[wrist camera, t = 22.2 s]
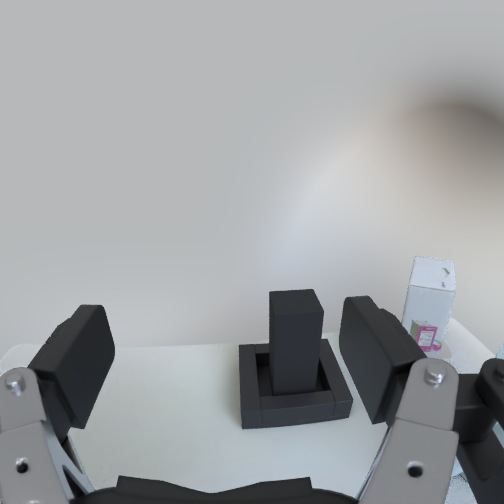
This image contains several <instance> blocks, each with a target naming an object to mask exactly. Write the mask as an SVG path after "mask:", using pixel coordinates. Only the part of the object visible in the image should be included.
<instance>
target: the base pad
mask: <svg viewBox="0 0 504 504" xmlns="http://www.w3.org/2000/svg"><path fill="white" fill-rule="evenodd" d="M239 370H240V400H241V419H242V429H252V428H268V427H281V426H291V425H301V424H309V423H317V422H324V421H331V420H337V419H343V418H348V417H349V413H350V410H351V407H352V403H353V398H352V396H351V393H350V391H349V388H348V386H347V384H346V381H345V379H344V377H343V374H342V372H341V369H340V367H339V365H338V362H337V360H336V358H335V355H334V353H333V351H332V348H331V346H330V344H329V342H328V339H321V345H320V354H319V362H318V370H317V378H316V385H315V392H312V393H303V394H294V395H282V396H272V390H271V384H270V377H269V343H268V344H255V345H254V344H247V345H239Z"/></svg>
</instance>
